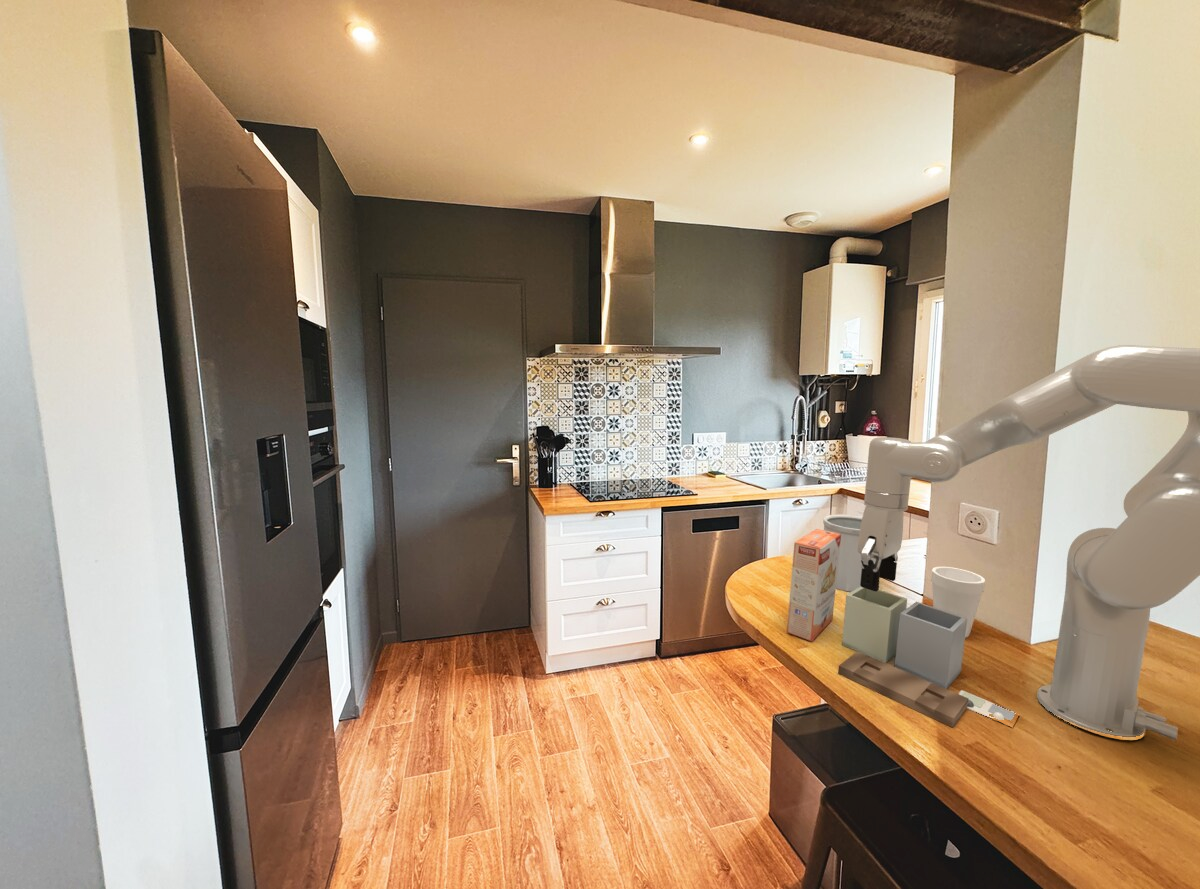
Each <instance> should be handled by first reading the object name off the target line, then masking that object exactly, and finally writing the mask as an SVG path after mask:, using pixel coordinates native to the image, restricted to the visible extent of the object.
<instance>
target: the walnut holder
mask: <svg viewBox="0 0 1200 889" xmlns="http://www.w3.org/2000/svg"><path fill="white" fill-rule="evenodd" d="M837 674H839V675H840V676H843V677H845V678H847V679H849V680H851V681H853V682H855V683H858V684H860V685H862V686H864V687H866V688H868V689H870V690H872V691H874V692H876V693H878V694H880V695H882V696H884V697H887V698H889V699H892V700H893V701H896V702H898V703H900V704H901V705H904V706H906V707H907V708H910V709H912V710H914V711H917V712H919V713H920V714H922V715H925V716H927V717H929V718H931V719H933V720H935V721H937V722H939V723H941V724H944V725H946V726H948V727H949V728H954V727H955V725H956V724H957V722H958V721H959V720H960V718H961V717H962V716H963V714H964V713H965V712H966V710H968V709H967V706H968V700H969V698H966V697H964V696H962V695H959V693H957V692H955V691H952V690H950V689H948V688H947V689H945V688H943V687H940V686H938V685H936V684H933V683H931V682H929V681H926V680H924V679H922V678H919V677H917V676H915V675H912V674H910V673H908V672H905V671H903V670H901V669H898V668H896V667H895V665H894V666H893V665H891V664H889V663H888V662H887V663H884V662H882V661H879V660H877V659H875V658H872V657H870V656H868V655H865V654H863V653H861V652H858V651H855V652H854V653H853V654H851V656H849V657H848V658H847V659H845V660H844V661H843V662H841V663H840V664H838V670H837Z"/></svg>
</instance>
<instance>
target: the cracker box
mask: <svg viewBox="0 0 1200 889" xmlns="http://www.w3.org/2000/svg"><path fill="white" fill-rule="evenodd" d="M840 541H841V534H838V533H835V532H830V531H824V529H819V528H816V529H814V530H812V531H810V532H809V533H807V534H806V535H804V536H802V537H800V538H798V539H797V540H795V541H794V543H793V556H792V567H791V577H790V578H791V579H790V590H789V601H788V612H787V613H788V614H787V623H786V624H787V626H786V633H788V634H790V635H792V636H795V637H799V638H801V639H804V640H806V641H808V642H811V643H812V642H814V640H815V639H816V638H817V637H818V636H819V634H821V632H822V631H823V630H824V629H825V628H826V627H827V626H828V625H829V624H830V623H831V622H832V621H833V618H834V609H835V608H834V606H835V598H836V589H837V588H836V581H837V570H838V561H839V551H840Z"/></svg>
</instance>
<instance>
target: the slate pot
mask: <svg viewBox="0 0 1200 889" xmlns="http://www.w3.org/2000/svg"><path fill="white" fill-rule="evenodd" d="M966 625H967V618H966V617H963V616H960V615H957V614H954V613H951V612H947V611H944V610H941V609H938V608H935V607H933V606H932V605H929V604H928V605H927V604H925V603H922V602H919V601H915V602H914V603H912V604H911V605H910V606H909V607H906V610H904V611H903V612H902V613H900V620H899V630H898V640H897V649H896V655H895V661H894V667H896V668H898V669H901V670H903V671H905V672H908V673H910V674H912V675H915V676H917V677H919V678H922V679H924V680H926V681H929V682H931V683H933V684H936V685H938V686H940V687H943V688H945V689H948V688H949V687H950V686H951V684H952V683H953V682H954V681H955V680H956V679H957V677H958V676H959V675H960V674H961V672H962V666H963V665H962V664H963V655H964V647H965V640H966V638H965V633H966Z"/></svg>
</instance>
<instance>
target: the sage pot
mask: <svg viewBox="0 0 1200 889" xmlns="http://www.w3.org/2000/svg"><path fill="white" fill-rule="evenodd" d="M844 604H845V606H844V618H843V626H842V640H841V646H843V647H845V648H848V649H851V650H853V651H855V652H857V651H858V652H861V653H863V654H865V655H868V656H870V657H872V658H875V659H877V660H879V661H882V662H884V663H887V664H888V662H889V661H890V660H892V658H894V657H896V649H897V640H898V630H899V620H900V613H902V612H903V611H904V610H906V609H907V608H908V607H907V605H908V598H906V597H904V596H900V595H897V594H895V593H892V592H888V591H885V590H882V589H878V591H876V592H875V591H872V590H869V589H866V588H863V587H859V588H857V589H856V590H854V591H852V592H848V593H847V594H846V595H845V603H844Z"/></svg>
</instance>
